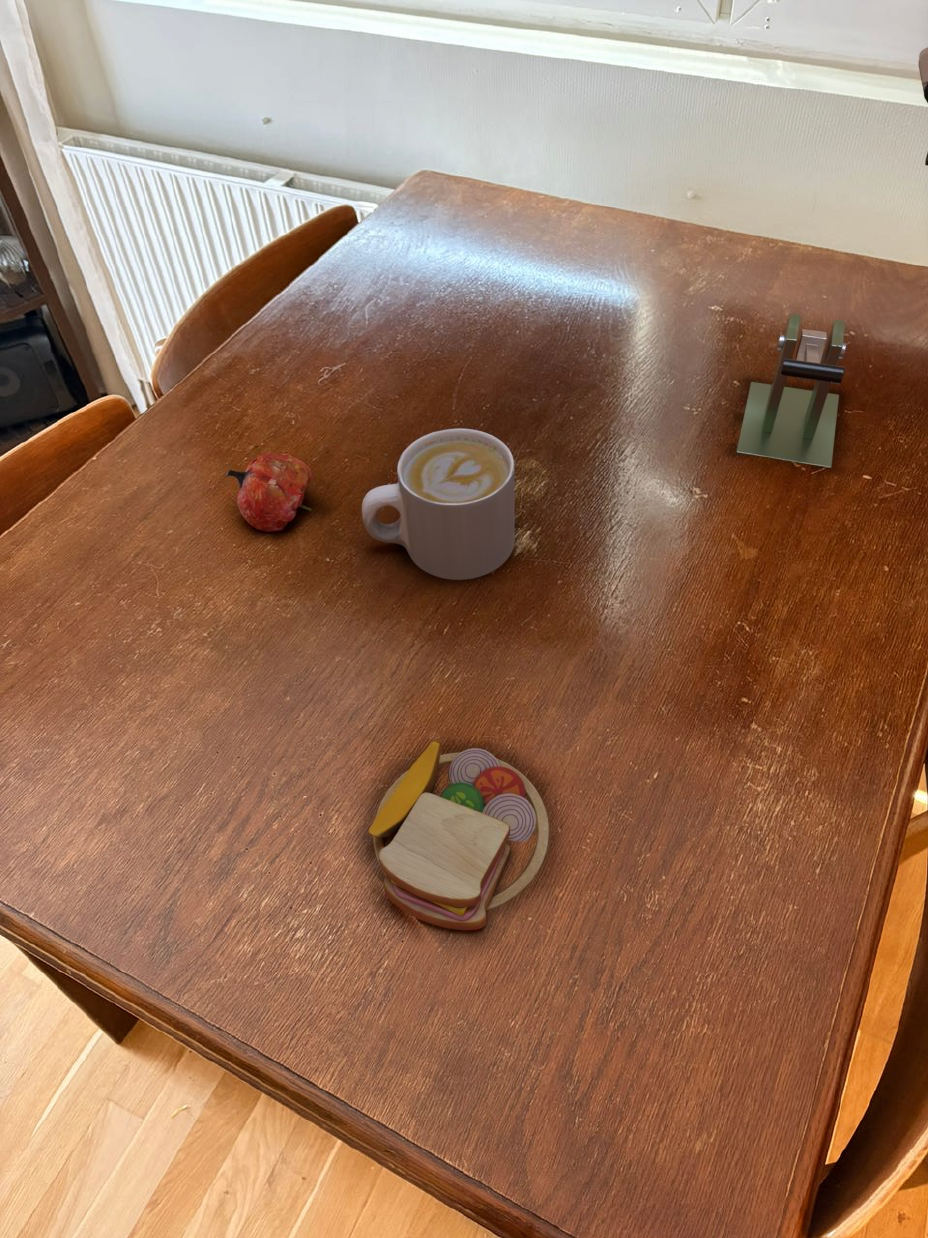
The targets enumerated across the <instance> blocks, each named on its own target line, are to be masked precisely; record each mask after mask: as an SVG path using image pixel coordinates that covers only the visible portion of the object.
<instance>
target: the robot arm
mask: <svg viewBox="0 0 928 1238" xmlns="http://www.w3.org/2000/svg"><path fill="white" fill-rule="evenodd" d="M917 65H918V69H919V75H920V80H921V85H922V86H921V87H922V92H923V98H924V100H925V101H926V103H927V104H928V47H926V48H923V49H922V50H921V51H920V52H919V54H918V64H917ZM924 165H925V166H928V152H927V153H926V157H925V161H924Z"/></svg>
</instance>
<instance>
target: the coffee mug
mask: <svg viewBox="0 0 928 1238" xmlns="http://www.w3.org/2000/svg"><path fill="white" fill-rule="evenodd" d="M396 468H397V469H396V473H397V482H396V483H392V484H391V483H390V484H385V485H380V486H376V487H374V488H373V489H371V490H369V491H368V492H367V493H366V494H365V495H364V497H363V499H362V503H361V518H362V524H363V526H364V529H365V530H366V531H367V533H368V535H369V536H370V537H372V538H373V539H374V540H376V541H378V542H382V543H388V544H397V545H401V546H402V547H403V548H405V549H406V551H407V554H408V556H409V557H410V559H411V560H412V561H413V563H414V564H415V565H416V566H417V567H418V568H419V569H421V570H422V571H423V572H425V573H426V574H429V575H432V576H433V577H436V578H441V579H444V580H452V581H453V580H455V581H461V580H462V581H463V580H471V579H476V578H477V579H478V578H480V577H483V576H485V575H488V574H490V573H492V572H494V571H496V570H497V569H499V568H500V567H502V565H504V563H505V562H507V561H508V559H509V557H510V556H511V554H512V552H513V550H514V547H515V539H516V534H515V533H516V528H515V527H516V524H515V523H516V521H515V519H516V518H515V517H516V515H515V514H516V513H515V509H516V507H515V506H516V505H515V499H516V498H515V495H516V493H515V491H516V490H515V481H516V480H515V478H516V477H515V474H516V473H515V459H514V457H513V454H512V452H511V450H510V448H509V447H508V446H507V445H506V444H505V443H504V442H503V441H502V440H500V439H499V438H497V437H495V436H494V435H492V434H489V433H487V432H484V431H481V430H477V429H471V428H461V427H459V428H447V429H441V430H437V431H433V432H430V433H428V434H425V435H423V436H421V437H420V438H418V439H416V440H415V441H413V442H411V444H409V445H408V446H407V447H406V449H405V450H403V452H402V454H401V455H400V457H399V460H398V462H397V467H396ZM384 507H385V508H386V507H393V508H395V509H396V510H397V511H398V512H399V518H397V520H396V521H395V522H392V523H384V522H382V521H380V520H379V518H378V516H377V514H378V512H379V511H380V509H383V508H384Z"/></svg>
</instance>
